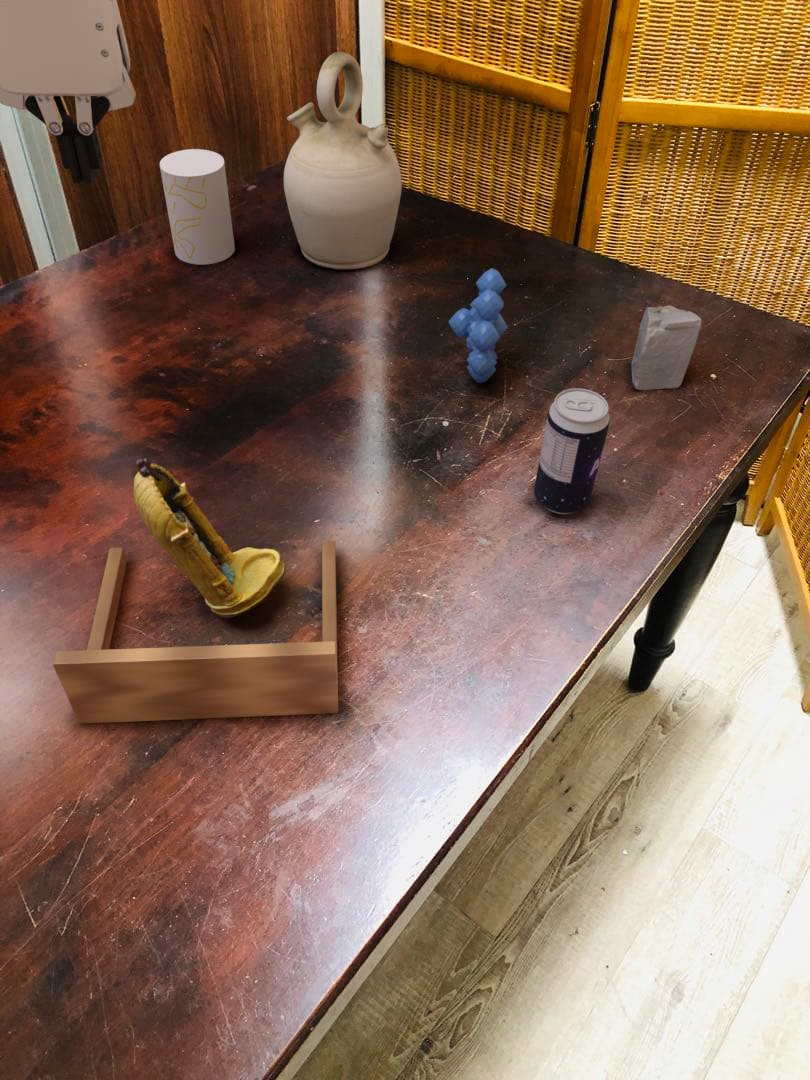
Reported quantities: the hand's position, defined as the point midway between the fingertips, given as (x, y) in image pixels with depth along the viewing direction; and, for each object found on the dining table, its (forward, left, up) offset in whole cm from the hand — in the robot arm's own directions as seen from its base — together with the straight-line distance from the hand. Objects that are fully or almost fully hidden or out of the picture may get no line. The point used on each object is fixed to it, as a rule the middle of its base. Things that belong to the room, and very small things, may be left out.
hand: (86, 176), depth 76 cm
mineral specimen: (+55, -20, -27) cm, 64 cm away
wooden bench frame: (-4, -30, -27) cm, 40 cm away
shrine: (-2, -27, -27) cm, 38 cm away
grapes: (+37, -9, -27) cm, 47 cm away
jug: (+37, +23, -27) cm, 51 cm away
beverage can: (+32, -32, -27) cm, 53 cm away
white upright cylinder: (+20, +32, -27) cm, 47 cm away
